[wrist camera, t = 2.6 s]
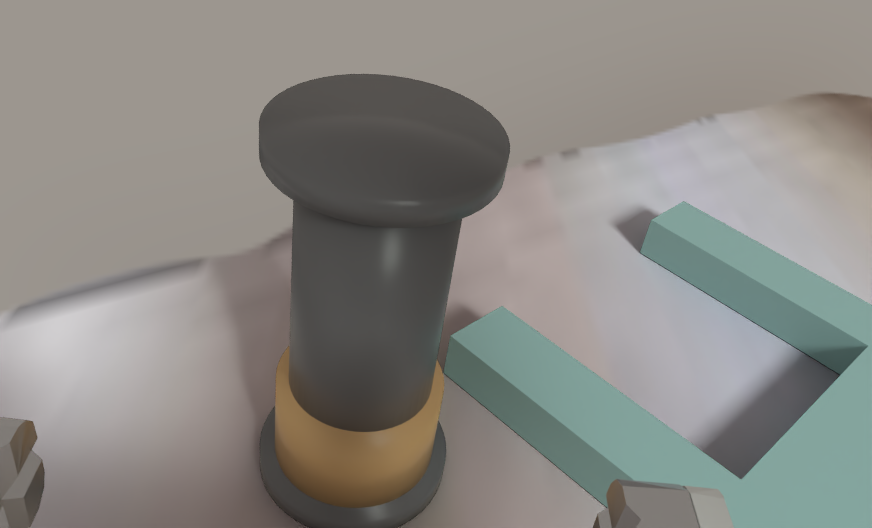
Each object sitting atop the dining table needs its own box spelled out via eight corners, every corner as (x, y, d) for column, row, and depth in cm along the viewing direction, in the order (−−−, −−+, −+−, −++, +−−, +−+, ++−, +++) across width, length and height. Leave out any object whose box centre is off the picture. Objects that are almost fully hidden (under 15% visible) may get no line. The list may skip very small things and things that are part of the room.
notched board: (672, 233, 43) (683, 201, 42) (988, 416, 35) (1014, 383, 34) (443, 372, 33) (450, 335, 32) (816, 680, 25) (845, 646, 23)
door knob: (363, 365, 33) (396, 56, 25) (480, 468, 29) (559, 150, 21) (222, 444, 29) (208, 107, 21) (338, 573, 25) (373, 231, 18)
